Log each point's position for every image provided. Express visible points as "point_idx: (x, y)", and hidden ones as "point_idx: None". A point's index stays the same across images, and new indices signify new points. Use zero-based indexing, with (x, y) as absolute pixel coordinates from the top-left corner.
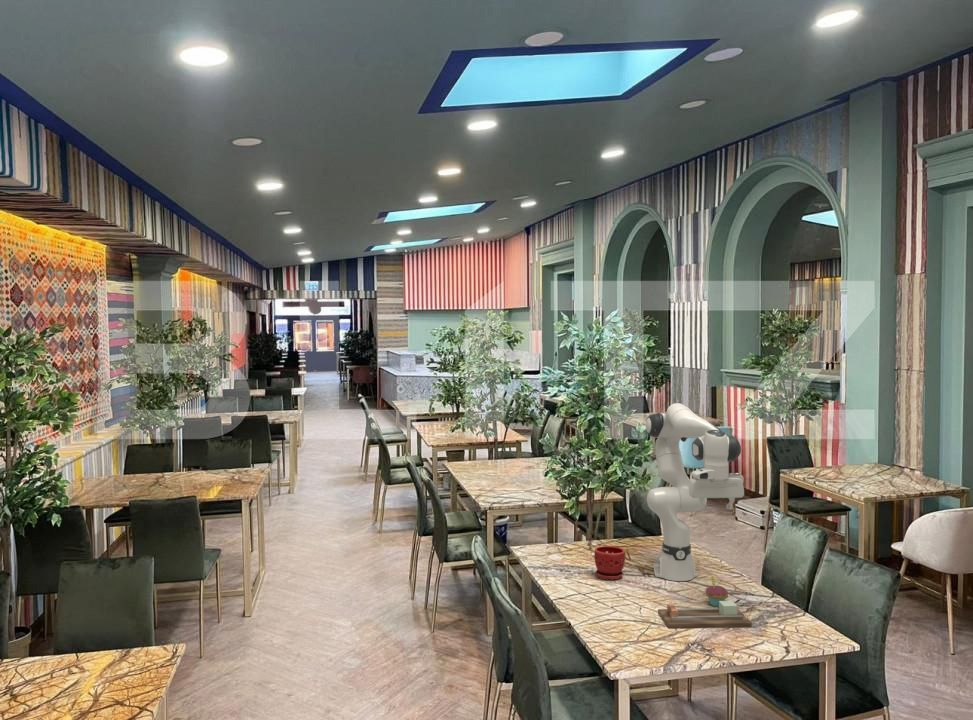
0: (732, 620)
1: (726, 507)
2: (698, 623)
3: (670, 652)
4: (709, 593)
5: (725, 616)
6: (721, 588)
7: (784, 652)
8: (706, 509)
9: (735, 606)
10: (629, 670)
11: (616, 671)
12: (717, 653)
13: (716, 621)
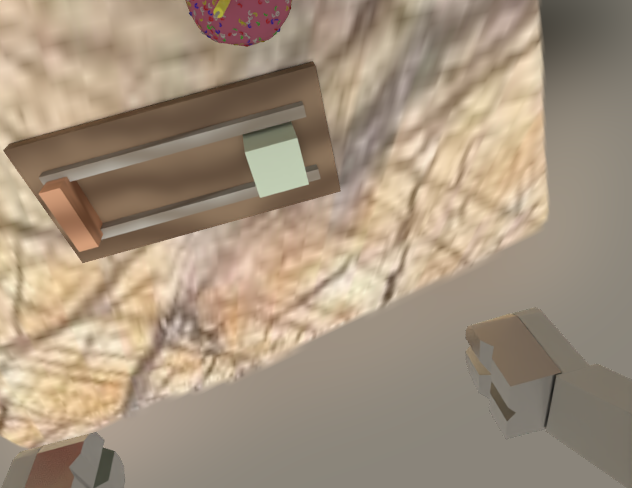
0: None
1: (477, 341)
2: (175, 234)
3: (124, 366)
4: (204, 30)
5: None
6: (263, 3)
7: (379, 301)
8: (116, 472)
9: (301, 185)
10: None
11: None
12: (231, 342)
13: (232, 206)
